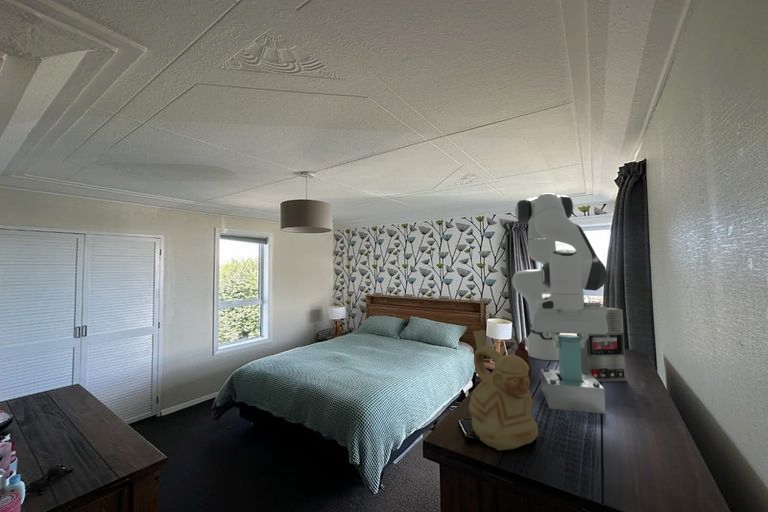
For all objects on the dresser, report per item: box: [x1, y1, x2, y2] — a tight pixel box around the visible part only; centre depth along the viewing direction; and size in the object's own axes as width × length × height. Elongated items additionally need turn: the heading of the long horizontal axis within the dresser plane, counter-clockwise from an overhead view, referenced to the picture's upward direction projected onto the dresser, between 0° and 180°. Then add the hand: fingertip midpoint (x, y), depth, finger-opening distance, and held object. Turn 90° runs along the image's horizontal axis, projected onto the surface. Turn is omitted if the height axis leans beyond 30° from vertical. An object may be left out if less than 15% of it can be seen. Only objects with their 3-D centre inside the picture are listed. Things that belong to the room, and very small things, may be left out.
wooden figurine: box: [514, 339, 532, 380], centre depth 115 cm, size 7×6×15 cm
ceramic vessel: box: [468, 329, 539, 452], centre depth 79 cm, size 17×20×25 cm
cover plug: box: [558, 334, 582, 382], centre depth 97 cm, size 6×6×13 cm
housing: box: [540, 367, 607, 415], centre depth 97 cm, size 14×14×8 cm
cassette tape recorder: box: [576, 307, 629, 383], centre depth 113 cm, size 14×6×25 cm, turn 90°
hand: (569, 347), depth 97 cm, fingers closed on cover plug, 5 cm apart
